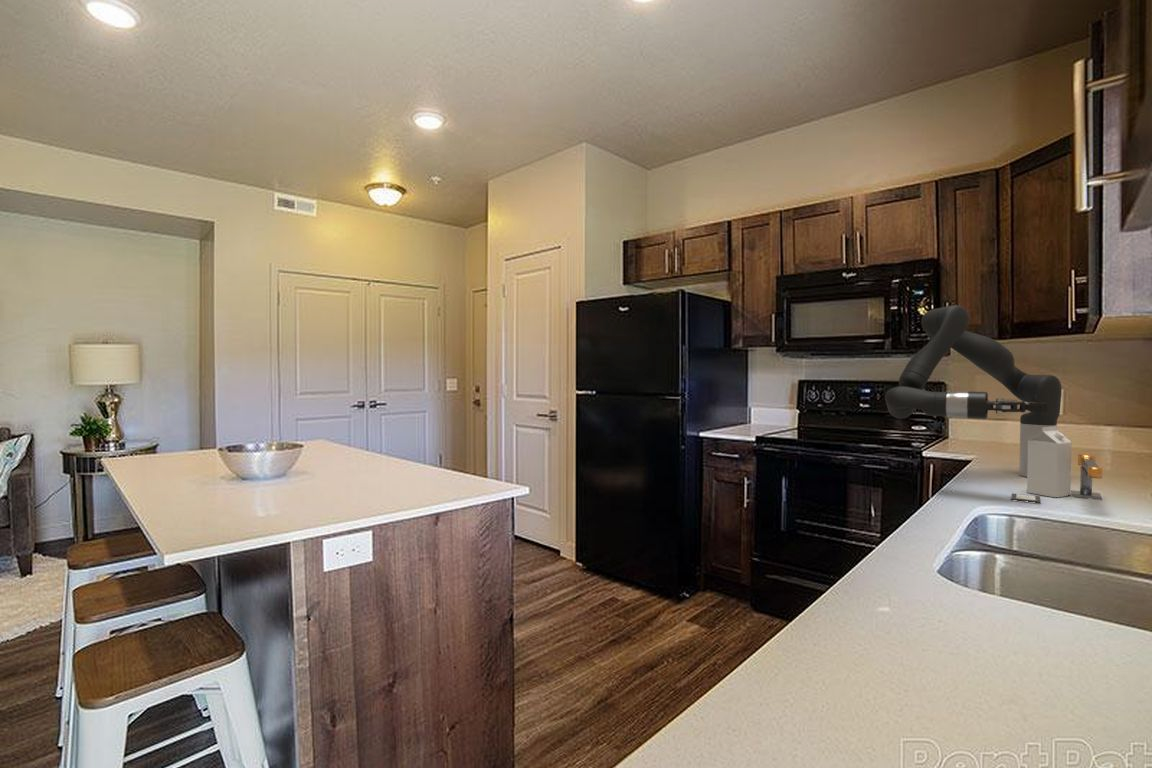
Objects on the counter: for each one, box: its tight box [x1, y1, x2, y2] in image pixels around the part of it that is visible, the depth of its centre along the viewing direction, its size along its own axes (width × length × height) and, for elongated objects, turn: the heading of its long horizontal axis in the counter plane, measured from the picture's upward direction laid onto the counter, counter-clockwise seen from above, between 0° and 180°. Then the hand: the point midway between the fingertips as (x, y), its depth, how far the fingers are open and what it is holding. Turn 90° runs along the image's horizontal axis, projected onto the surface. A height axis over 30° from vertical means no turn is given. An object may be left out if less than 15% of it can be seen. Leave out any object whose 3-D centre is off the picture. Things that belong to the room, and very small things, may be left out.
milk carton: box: [1026, 425, 1072, 498], centre depth 158 cm, size 7×7×19 cm
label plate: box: [1011, 492, 1041, 504], centre depth 152 cm, size 8×6×1 cm
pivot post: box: [1070, 466, 1103, 501], centre depth 155 cm, size 6×6×8 cm
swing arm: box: [1077, 453, 1103, 479], centre depth 146 cm, size 26×4×3 cm, turn 141°
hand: (1047, 407), depth 147 cm, fingers closed
